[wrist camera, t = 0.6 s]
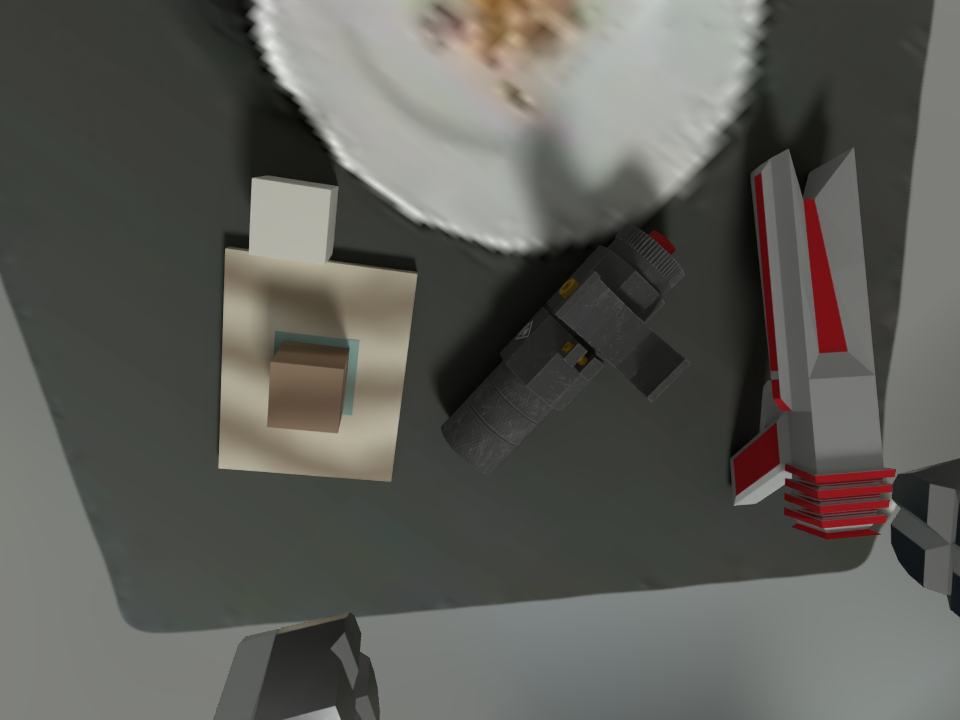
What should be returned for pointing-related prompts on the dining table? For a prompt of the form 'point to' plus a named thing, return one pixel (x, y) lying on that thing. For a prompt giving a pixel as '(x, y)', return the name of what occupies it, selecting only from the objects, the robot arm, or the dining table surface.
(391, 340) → the beige rectangular board
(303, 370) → the walnut block
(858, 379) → the toy gun
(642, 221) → the dining table surface
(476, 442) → the laser sight
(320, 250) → the cream block
